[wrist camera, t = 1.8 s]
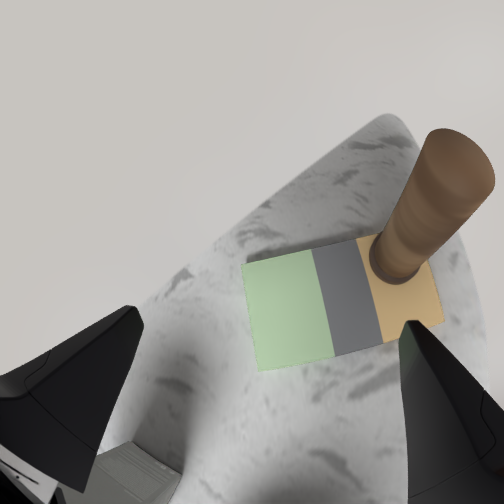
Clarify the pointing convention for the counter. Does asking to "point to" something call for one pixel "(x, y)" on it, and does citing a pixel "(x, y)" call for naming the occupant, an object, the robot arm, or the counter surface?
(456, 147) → the walnut peg
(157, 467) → the skincare box
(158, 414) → the counter surface
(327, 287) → the striped board
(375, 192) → the counter surface
